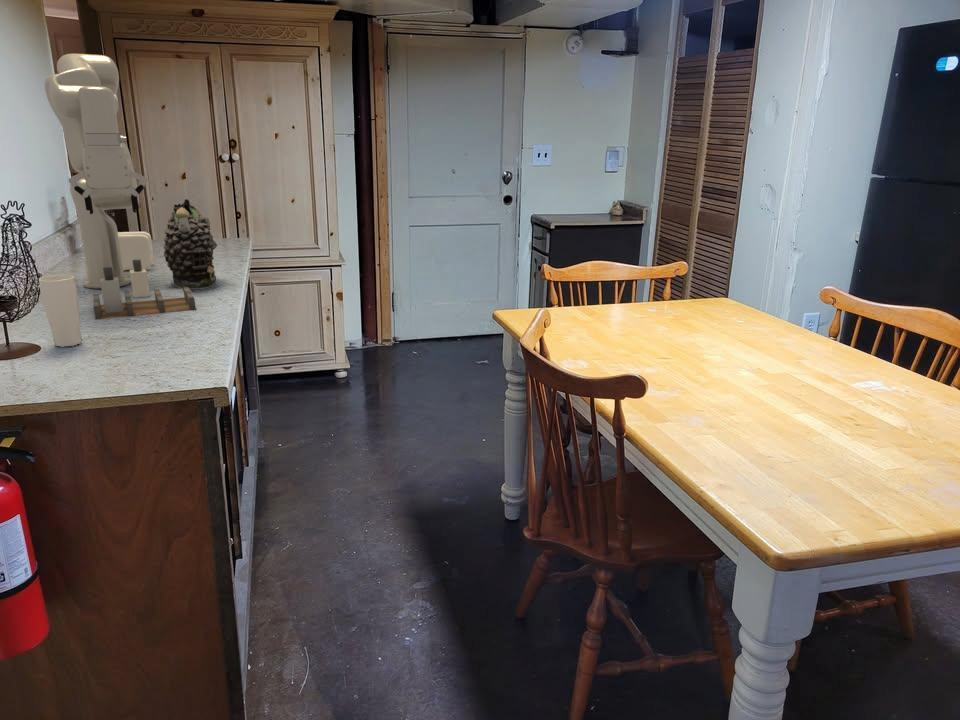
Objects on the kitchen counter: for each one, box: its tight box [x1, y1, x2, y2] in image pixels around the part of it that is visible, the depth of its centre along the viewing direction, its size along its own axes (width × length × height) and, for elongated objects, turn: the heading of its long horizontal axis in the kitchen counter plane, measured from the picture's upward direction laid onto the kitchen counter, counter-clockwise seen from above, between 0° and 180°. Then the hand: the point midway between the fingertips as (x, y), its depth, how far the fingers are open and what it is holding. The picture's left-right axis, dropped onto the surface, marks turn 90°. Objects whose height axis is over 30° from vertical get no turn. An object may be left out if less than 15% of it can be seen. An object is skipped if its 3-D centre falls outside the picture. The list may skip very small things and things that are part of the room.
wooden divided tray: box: [92, 287, 197, 320], centre depth 180 cm, size 15×23×4 cm, turn 118°
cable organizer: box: [117, 231, 155, 272], centre depth 231 cm, size 15×11×12 cm
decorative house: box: [163, 199, 218, 291], centre depth 208 cm, size 21×15×25 cm
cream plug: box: [129, 259, 151, 299], centre depth 192 cm, size 4×4×11 cm
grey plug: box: [100, 267, 123, 313], centre depth 176 cm, size 4×4×11 cm
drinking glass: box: [38, 274, 83, 348], centre depth 152 cm, size 7×7×15 cm
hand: (113, 212), depth 175 cm, fingers open, 9 cm apart
